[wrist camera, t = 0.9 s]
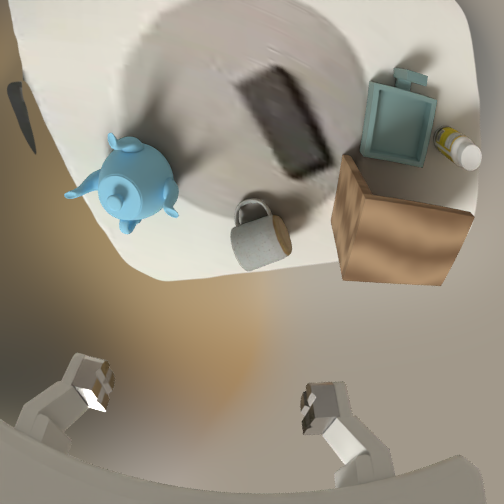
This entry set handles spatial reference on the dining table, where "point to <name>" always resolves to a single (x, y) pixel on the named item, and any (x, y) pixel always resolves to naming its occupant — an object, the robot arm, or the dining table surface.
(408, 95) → the tray
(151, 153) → the teapot
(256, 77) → the dining table surface
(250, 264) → the ceramic mug
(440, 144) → the supplement bottle
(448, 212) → the open wooden box
